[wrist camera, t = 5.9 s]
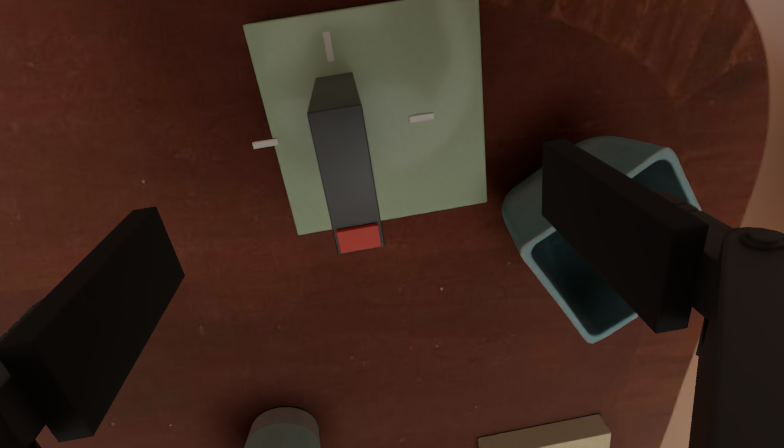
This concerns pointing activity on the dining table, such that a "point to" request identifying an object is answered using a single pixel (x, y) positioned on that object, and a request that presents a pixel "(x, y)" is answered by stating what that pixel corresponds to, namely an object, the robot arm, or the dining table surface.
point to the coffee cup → (284, 430)
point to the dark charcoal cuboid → (345, 163)
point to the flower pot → (560, 260)
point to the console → (380, 101)
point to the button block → (554, 435)
